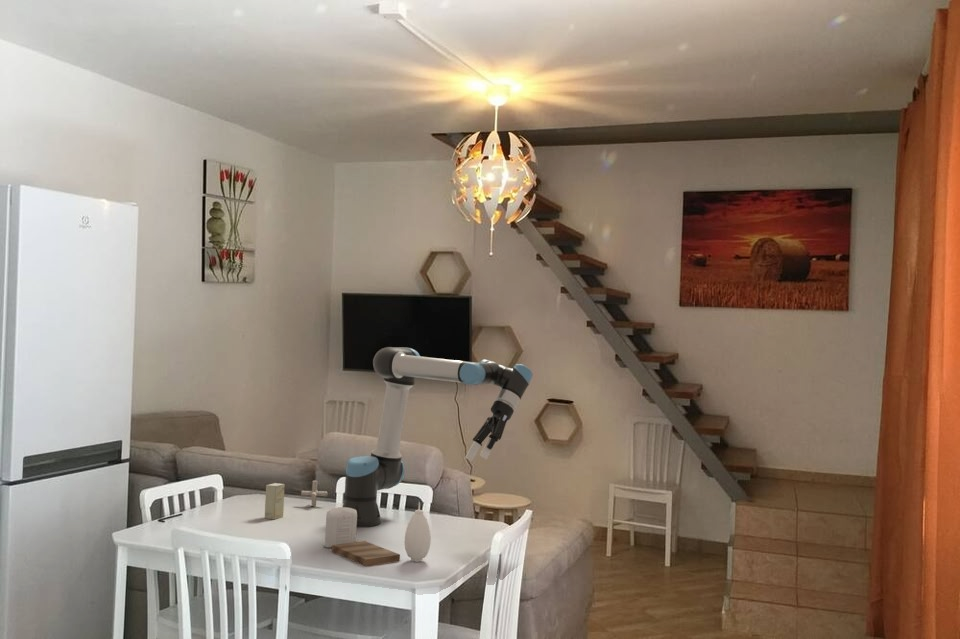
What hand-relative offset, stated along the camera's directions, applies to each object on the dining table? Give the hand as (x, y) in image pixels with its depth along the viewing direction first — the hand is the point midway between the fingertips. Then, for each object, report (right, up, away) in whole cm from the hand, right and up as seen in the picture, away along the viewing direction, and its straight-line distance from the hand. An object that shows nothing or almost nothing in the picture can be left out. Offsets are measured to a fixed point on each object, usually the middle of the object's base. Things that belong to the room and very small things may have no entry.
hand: (475, 458), depth 285 cm
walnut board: (-34, -26, -23) cm, 49 cm away
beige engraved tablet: (-44, -26, -12) cm, 52 cm away
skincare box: (-74, -26, +26) cm, 83 cm away
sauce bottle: (-18, -27, -26) cm, 42 cm away
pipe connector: (-64, -27, +50) cm, 86 cm away
